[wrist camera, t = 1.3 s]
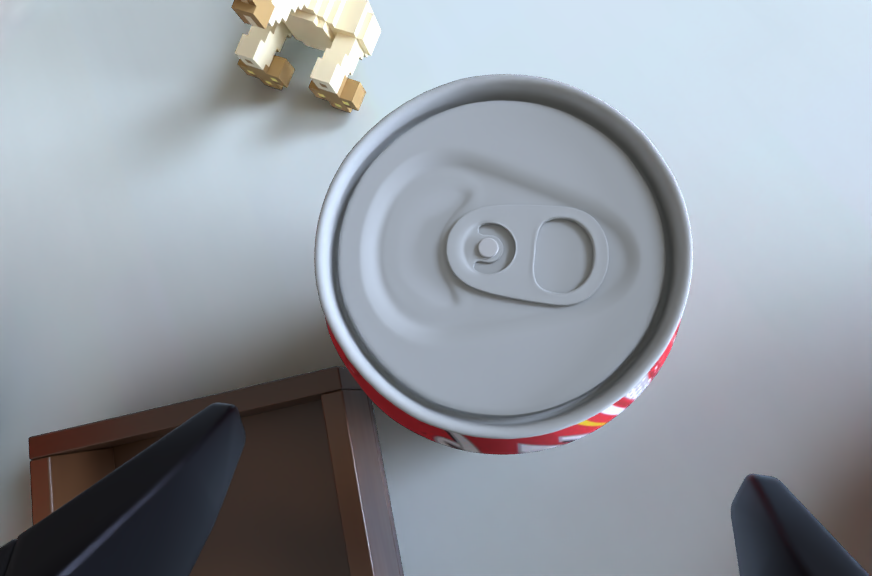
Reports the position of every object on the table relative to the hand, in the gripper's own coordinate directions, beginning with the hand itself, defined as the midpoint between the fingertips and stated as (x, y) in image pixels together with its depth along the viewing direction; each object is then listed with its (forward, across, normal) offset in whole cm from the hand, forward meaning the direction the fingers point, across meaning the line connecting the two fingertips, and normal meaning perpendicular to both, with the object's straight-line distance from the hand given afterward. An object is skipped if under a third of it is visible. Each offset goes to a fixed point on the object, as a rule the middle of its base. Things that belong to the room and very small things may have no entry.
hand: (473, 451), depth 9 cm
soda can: (+11, 0, +6) cm, 12 cm away
